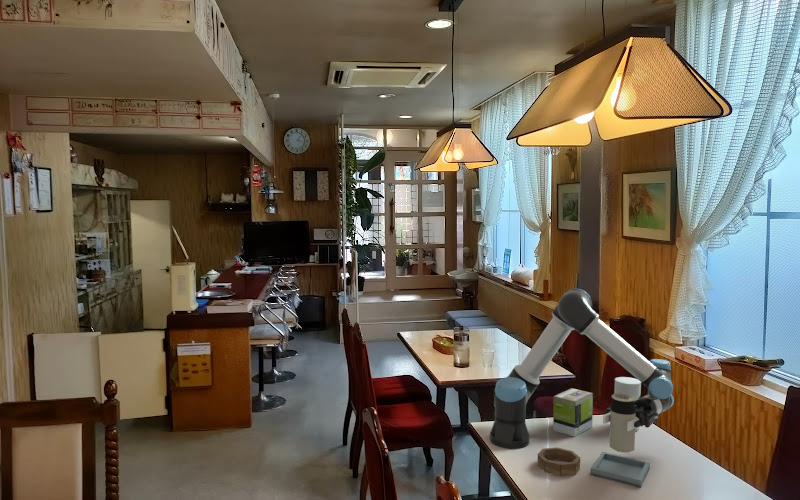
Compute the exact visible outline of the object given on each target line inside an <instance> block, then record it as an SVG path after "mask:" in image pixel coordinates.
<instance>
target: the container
mask: <svg viewBox="0 0 800 500" xmlns="http://www.w3.org/2000/svg"><path fill="white" fill-rule="evenodd" d="M641 387H642V383H641V382H640V381H639V380H638V379H637V378H636V377H628V376H627V377H626V376H619V377H615V378H614V392H613V394H628V395H631V396H633V397H635V400H634V402H635V401H636V400H638V399H640V398H641V389H642V388H641ZM635 418H637V417H635ZM639 430H640V427H636V428H635V432H637V431H639Z"/></svg>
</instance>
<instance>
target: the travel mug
mask: <svg viewBox="0 0 800 500" xmlns="http://www.w3.org/2000/svg"><path fill="white" fill-rule="evenodd" d="M611 398H612V402H611V404H610V407H611V411H610V422H609V448H610V449H612V450H614V451H616V452H620V453H631V452H633V451H635V448H636V447H635V444H636V443H635V442H636V440H635V439H636V431H635V428H634V429H632V430H630V431H627V422H629V421H631V420H633V419H635V415H636V407H635V405H634V400H635V397H633V396H631V395H628V394H614V393H613V394H612V395H611Z"/></svg>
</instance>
